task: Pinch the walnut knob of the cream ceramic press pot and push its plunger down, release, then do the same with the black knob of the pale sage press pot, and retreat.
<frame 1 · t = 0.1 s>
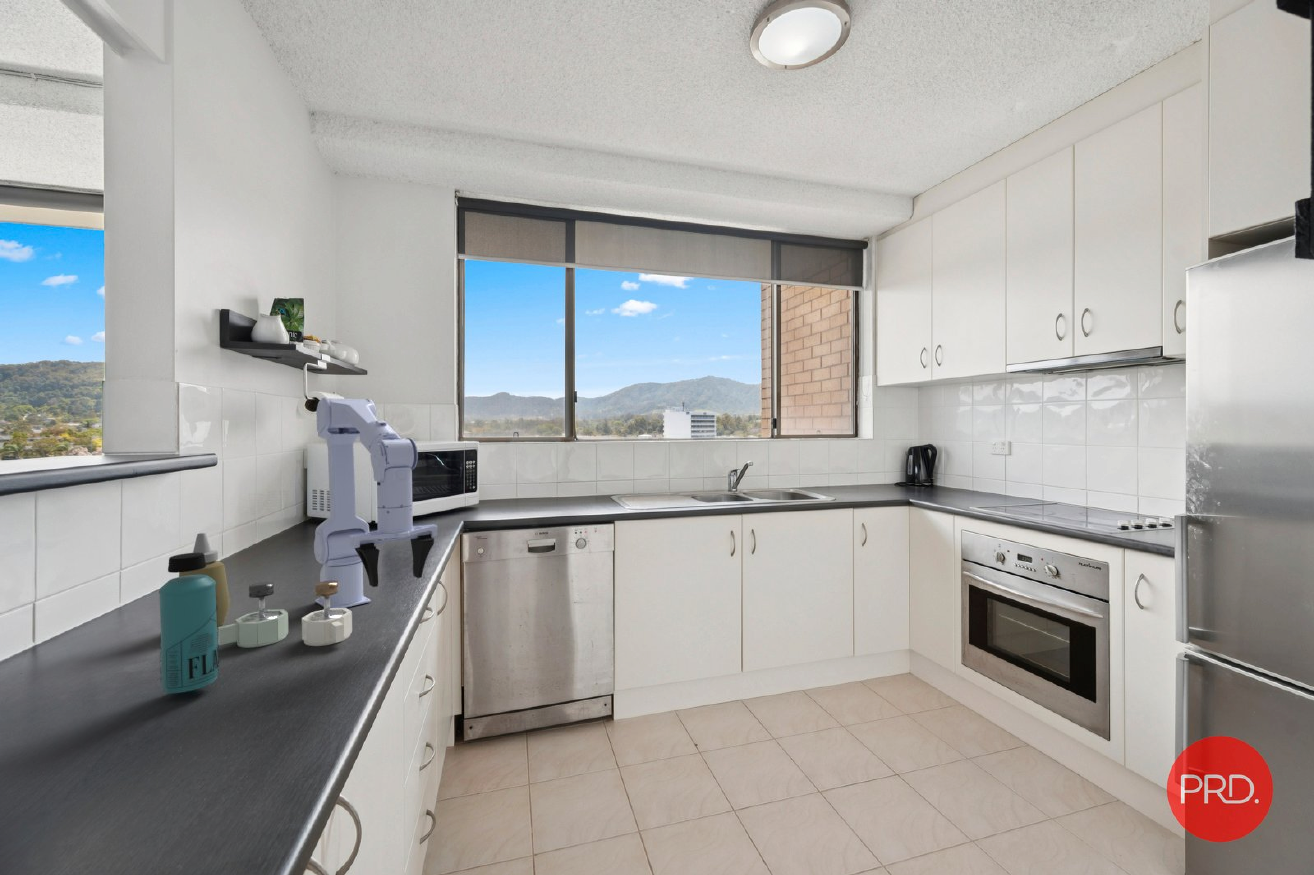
hand: (396, 581, 99), 10 cm above the counter, fingers open, 7 cm apart
squeeze bottle: (203, 629, 104), on the counter
sage press plunger: (261, 602, 98), point 7 cm above the counter, slide at 0.0 cm
sage press pot: (262, 639, 99), on the counter
cream press pot: (327, 638, 99), on the counter
cream press plunger: (326, 601, 99), point 7 cm above the counter, slide at 0.0 cm
beverage bottle: (191, 694, 79), on the counter
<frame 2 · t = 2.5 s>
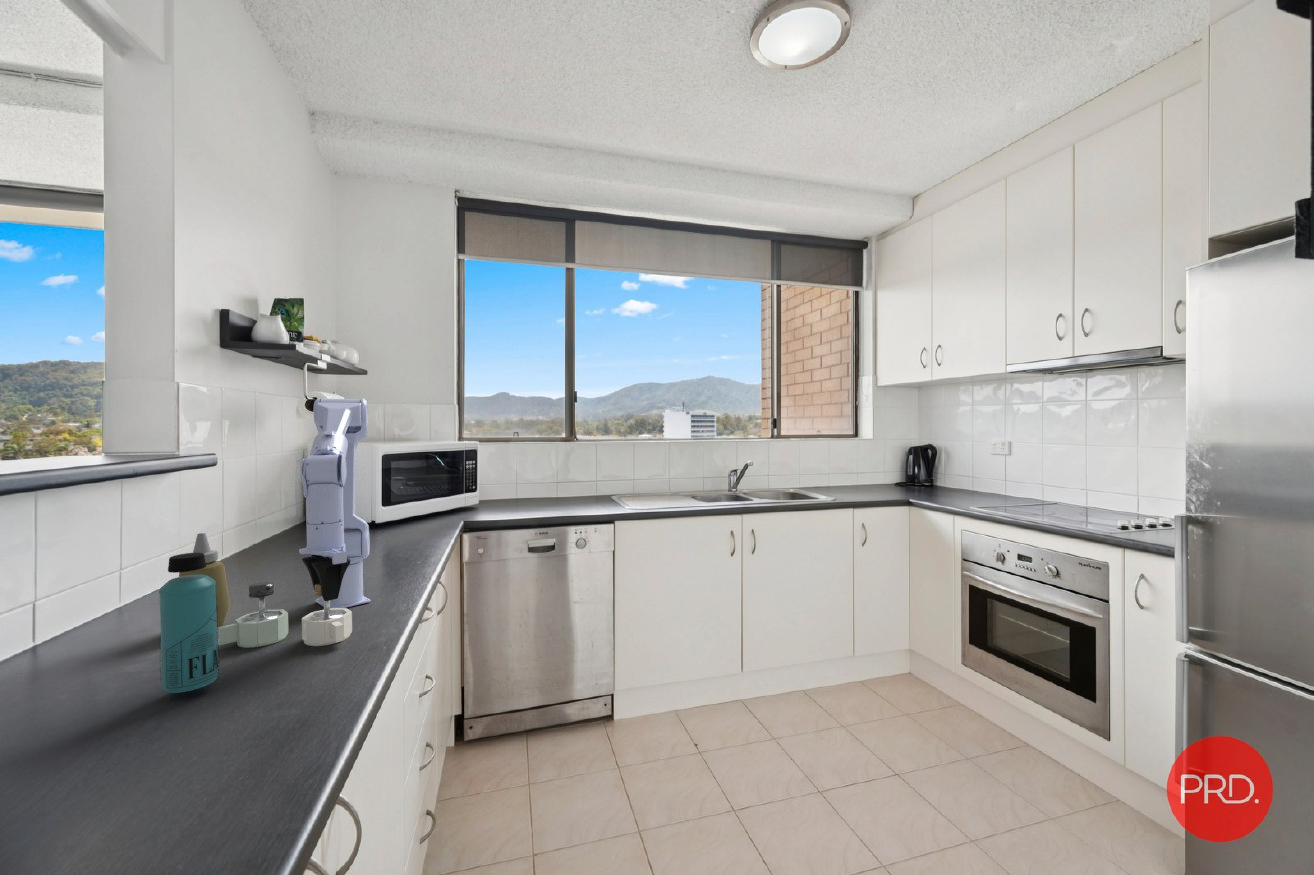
hand: (326, 597, 99), 7 cm above the counter, fingers closed on cream press plunger, 4 cm apart
cream press plunger: (326, 601, 99), point 7 cm above the counter, slide at 0.0 cm, touching gripper
everything else where it was.
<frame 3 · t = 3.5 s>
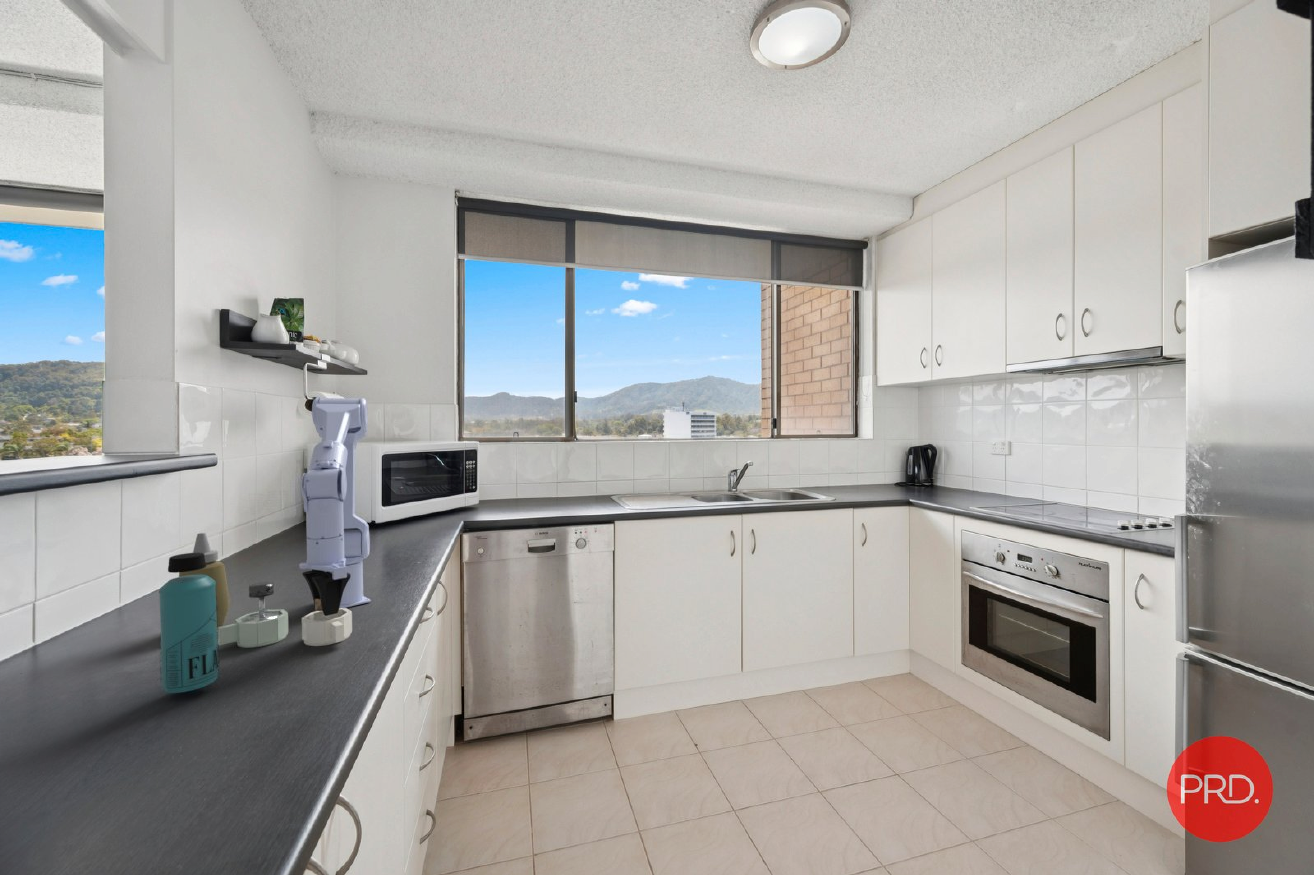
hand: (327, 611, 99), 5 cm above the counter, fingers closed on cream press plunger, 3 cm apart
cream press plunger: (327, 615, 99), point 4 cm above the counter, slide at 2.6 cm, touching gripper
everything else where it was.
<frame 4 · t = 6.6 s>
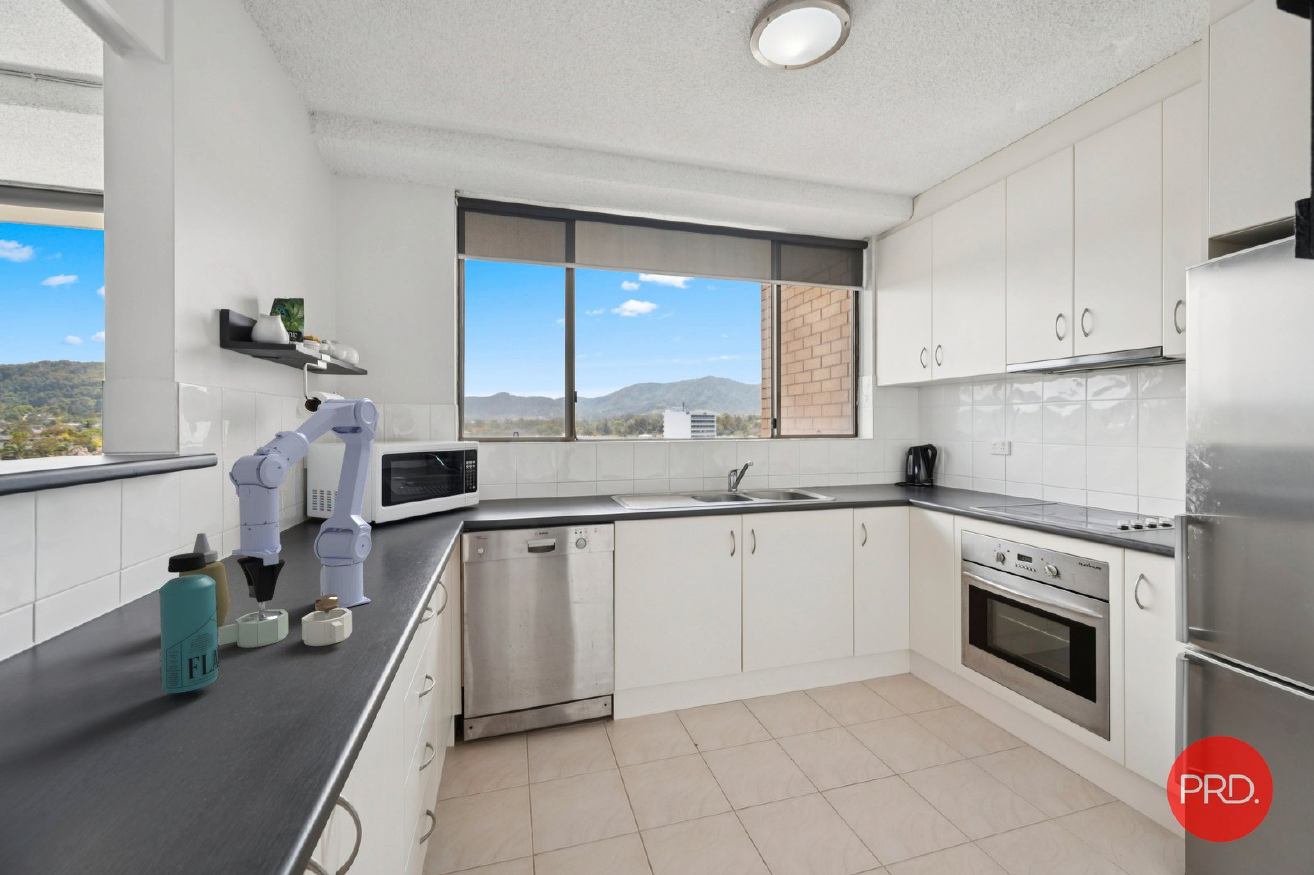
hand: (261, 598, 98), 7 cm above the counter, fingers closed on sage press plunger, 4 cm apart
sage press plunger: (261, 602, 98), point 7 cm above the counter, slide at 0.0 cm, touching gripper
cream press plunger: (327, 615, 99), point 4 cm above the counter, slide at 2.6 cm
everything else where it was.
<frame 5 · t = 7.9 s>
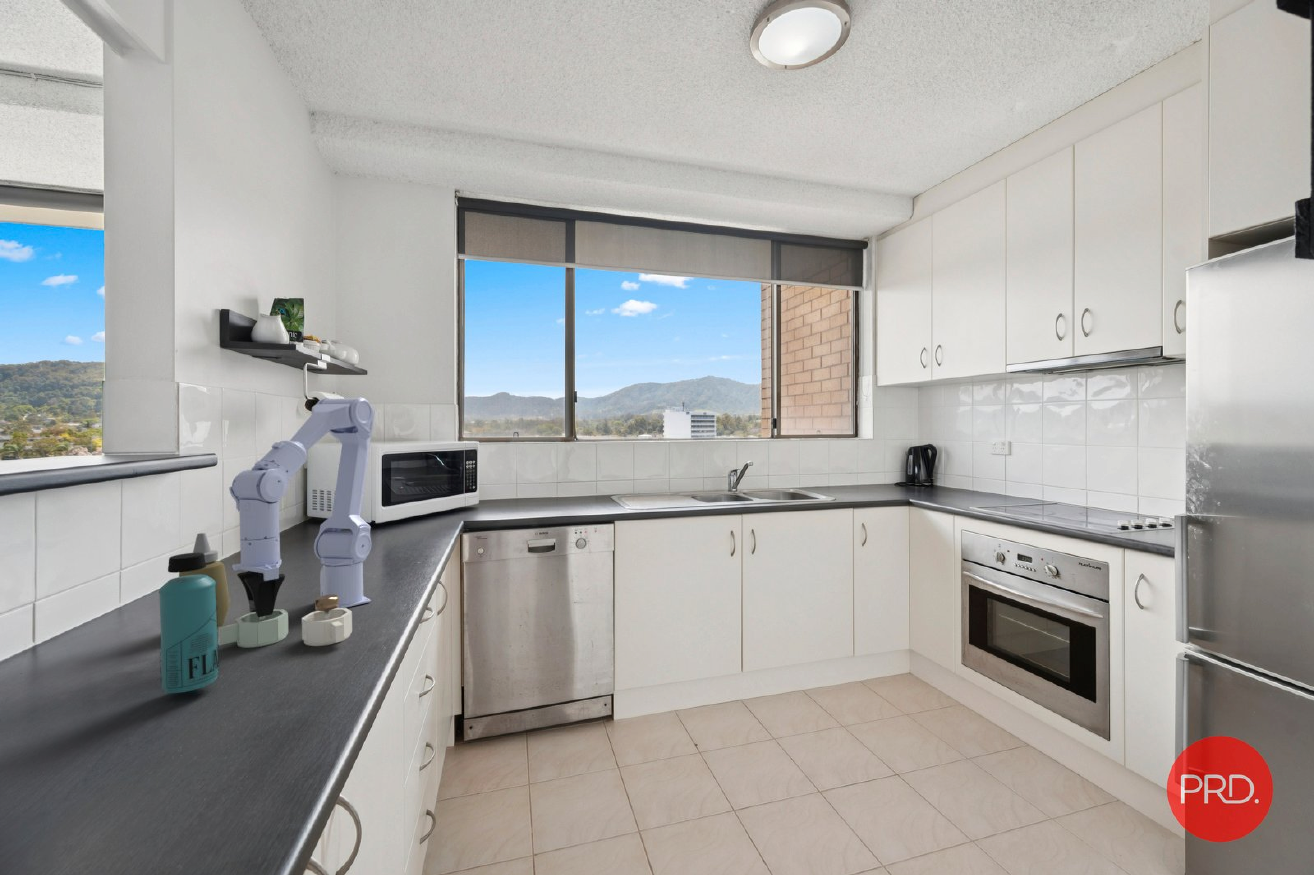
hand: (261, 612, 98), 5 cm above the counter, fingers closed on sage press plunger, 3 cm apart
sage press plunger: (262, 617, 99), point 4 cm above the counter, slide at 2.6 cm, touching gripper
everything else where it was.
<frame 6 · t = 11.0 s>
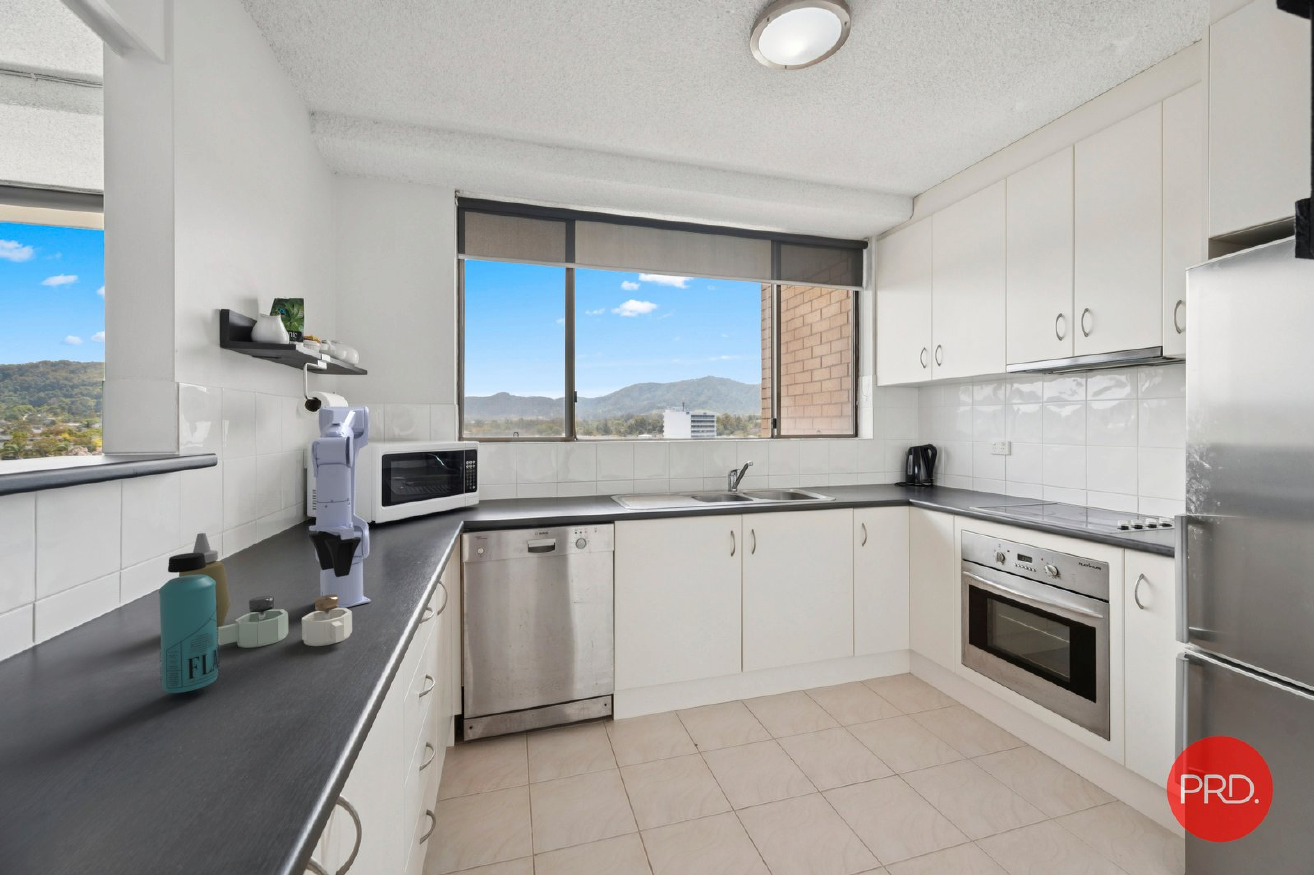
hand: (335, 572, 104), 10 cm above the counter, fingers open, 7 cm apart
sage press plunger: (262, 617, 99), point 4 cm above the counter, slide at 2.6 cm
everything else where it was.
at the end: cream press plunger slide at 2.6 cm; sage press plunger slide at 2.6 cm; the gripper is holding nothing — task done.
